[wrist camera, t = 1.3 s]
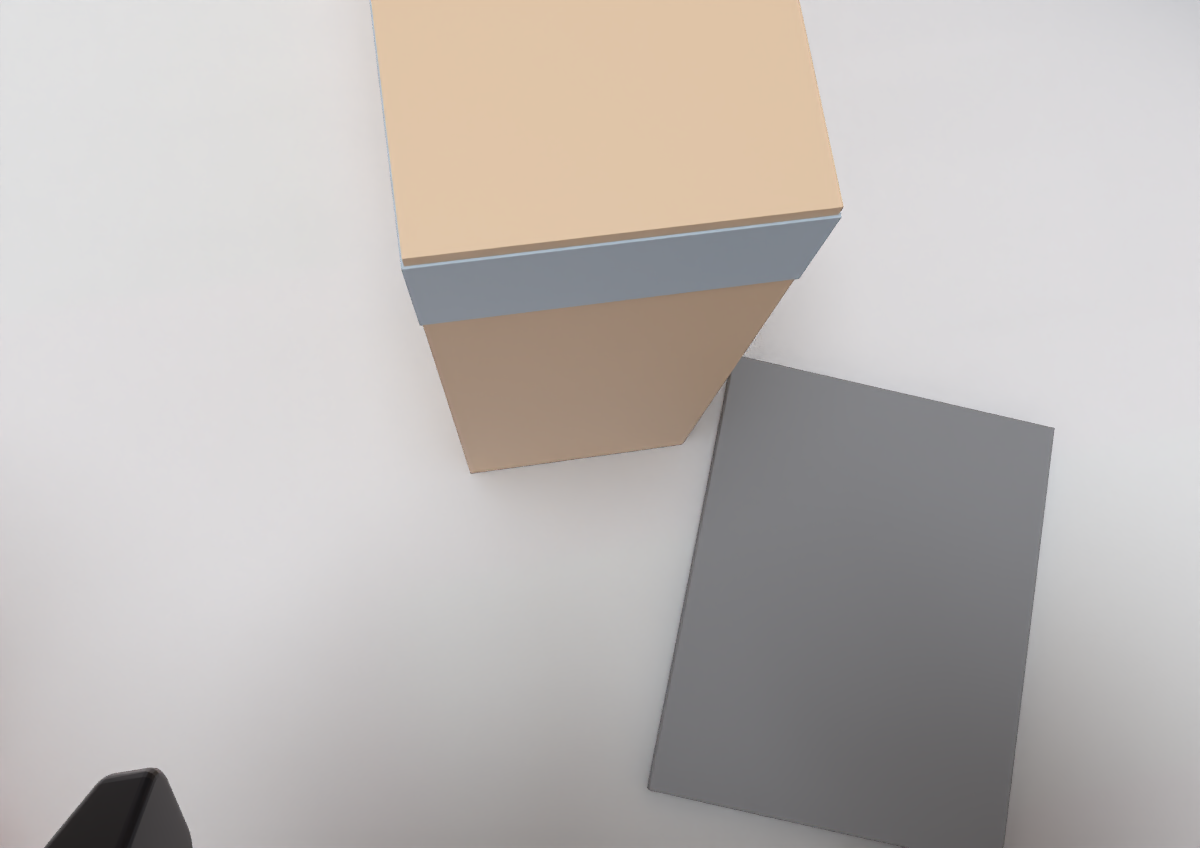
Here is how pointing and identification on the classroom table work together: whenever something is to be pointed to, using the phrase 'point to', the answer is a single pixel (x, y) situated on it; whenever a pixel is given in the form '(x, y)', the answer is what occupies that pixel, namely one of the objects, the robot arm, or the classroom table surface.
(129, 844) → the robot arm
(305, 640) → the classroom table surface
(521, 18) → the stub
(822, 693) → the mat
